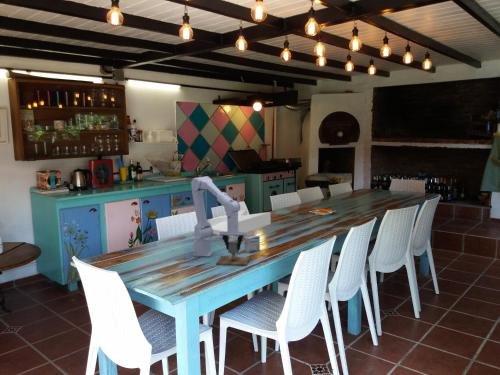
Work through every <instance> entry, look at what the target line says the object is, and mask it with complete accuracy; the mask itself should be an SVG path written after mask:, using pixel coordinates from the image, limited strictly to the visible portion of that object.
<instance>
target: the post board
mask: <svg viewBox="0 0 500 375" xmlns="http://www.w3.org/2000/svg"><path fill="white" fill-rule="evenodd" d="M250 260H251V257H250V256H236V253H234V254H233V253H231V255H227V256H226V255H221V256H220V257H219V258H218V260H217V262H216V263H215V265H216V266H233V267H235V266H237V267H238V266H239V267H247V266H248V264H249V262H250Z"/></svg>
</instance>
